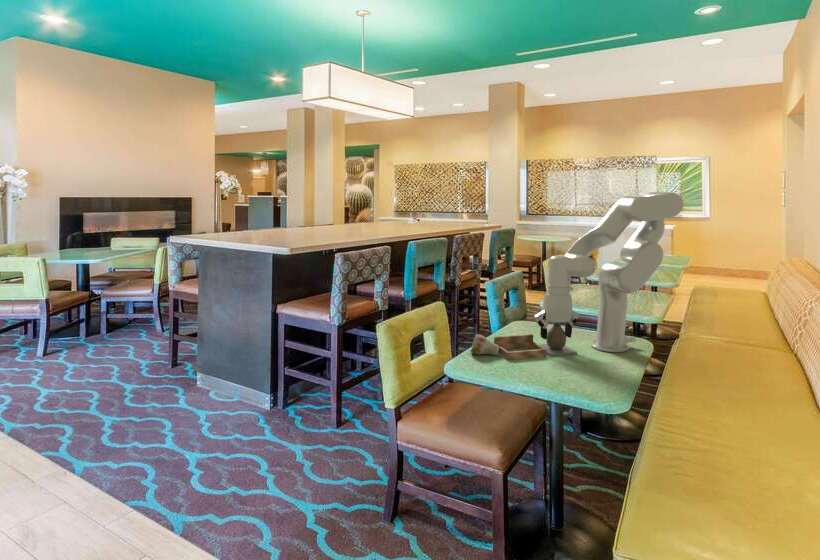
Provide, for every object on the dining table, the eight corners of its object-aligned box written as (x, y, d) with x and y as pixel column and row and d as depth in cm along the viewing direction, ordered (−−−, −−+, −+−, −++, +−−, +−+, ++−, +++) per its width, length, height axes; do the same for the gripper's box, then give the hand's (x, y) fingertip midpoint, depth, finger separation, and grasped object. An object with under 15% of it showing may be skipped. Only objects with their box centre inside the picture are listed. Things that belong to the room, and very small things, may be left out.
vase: (553, 352, 185) (555, 328, 184) (542, 346, 192) (543, 323, 190) (569, 349, 188) (571, 326, 186) (557, 344, 194) (558, 321, 193)
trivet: (560, 345, 196) (560, 342, 196) (577, 354, 186) (577, 351, 186) (533, 347, 194) (534, 344, 194) (549, 356, 183) (549, 354, 183)
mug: (501, 359, 181) (488, 335, 178) (476, 367, 185) (463, 344, 182) (503, 347, 188) (490, 324, 185) (478, 356, 191) (466, 334, 189)
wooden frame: (531, 347, 193) (532, 334, 193) (546, 356, 183) (547, 342, 182) (493, 350, 190) (494, 336, 189) (506, 359, 179) (507, 345, 178)
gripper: (574, 287, 192) (571, 333, 195) (531, 289, 187) (529, 336, 190) (586, 291, 185) (583, 338, 188) (541, 293, 180) (539, 342, 183)
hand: (555, 337), depth 189 cm, fingers open, 9 cm apart
